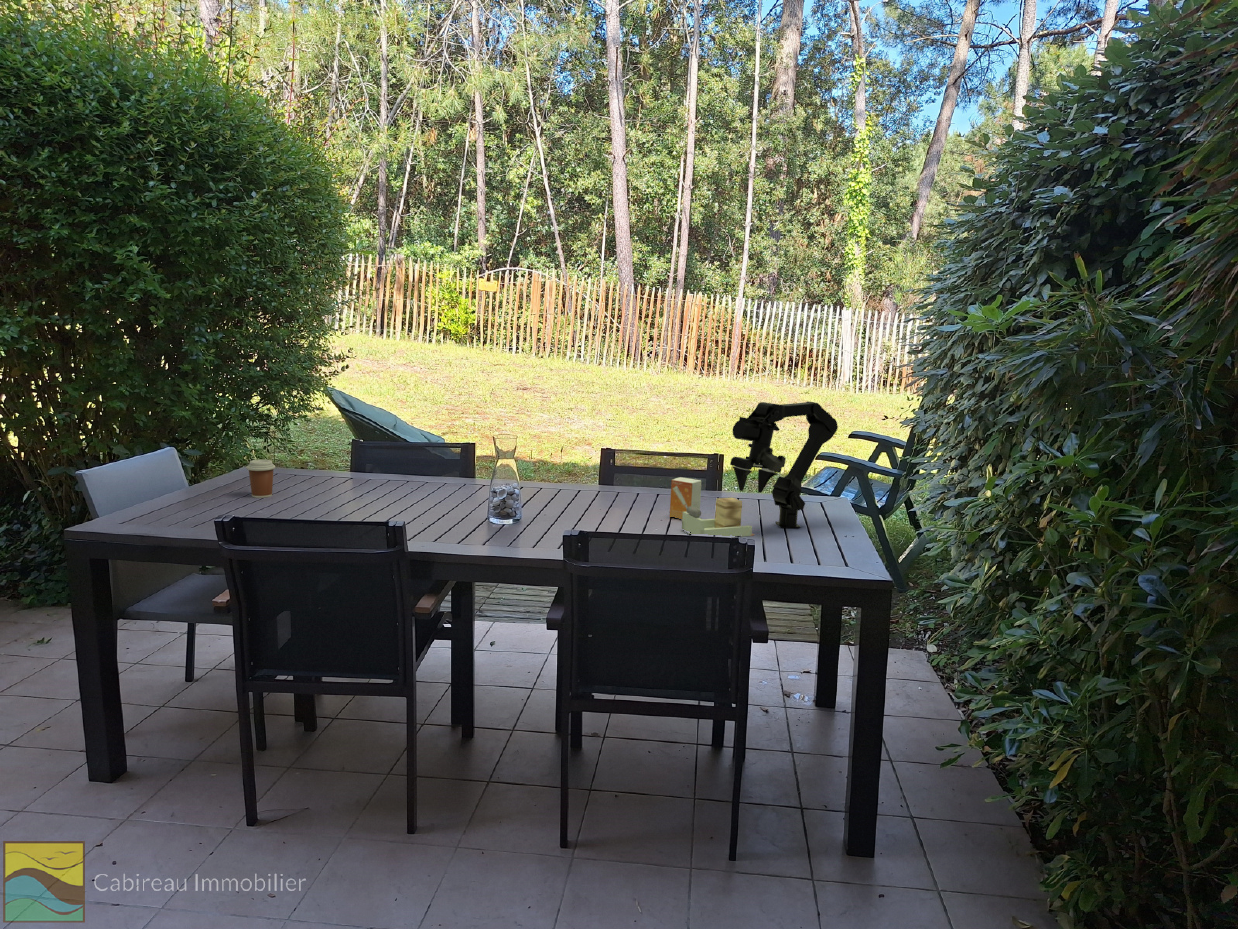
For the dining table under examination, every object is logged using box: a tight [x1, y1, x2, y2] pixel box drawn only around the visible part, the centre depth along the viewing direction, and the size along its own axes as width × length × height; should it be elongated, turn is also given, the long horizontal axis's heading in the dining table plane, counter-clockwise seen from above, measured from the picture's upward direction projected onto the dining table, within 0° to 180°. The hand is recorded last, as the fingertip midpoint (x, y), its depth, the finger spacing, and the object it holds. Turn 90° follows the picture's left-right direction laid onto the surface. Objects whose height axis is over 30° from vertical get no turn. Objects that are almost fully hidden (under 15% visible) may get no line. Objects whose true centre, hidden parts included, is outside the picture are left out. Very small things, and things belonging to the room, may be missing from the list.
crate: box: [714, 497, 743, 528], centre depth 274 cm, size 6×6×10 cm
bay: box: [681, 506, 755, 538], centre depth 273 cm, size 19×12×8 cm, turn 114°
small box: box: [669, 476, 702, 520], centre depth 290 cm, size 8×6×13 cm
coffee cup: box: [246, 458, 276, 499], centre depth 300 cm, size 9×9×12 cm
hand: (750, 491), depth 276 cm, fingers open, 9 cm apart
